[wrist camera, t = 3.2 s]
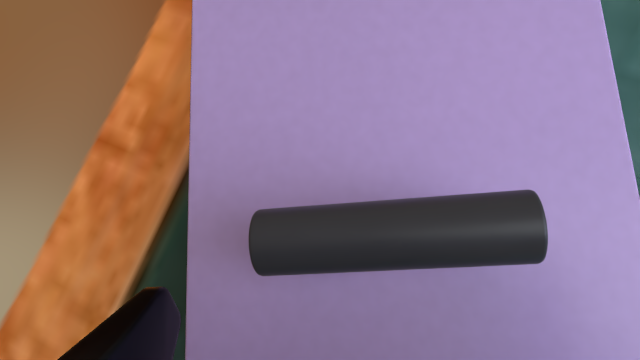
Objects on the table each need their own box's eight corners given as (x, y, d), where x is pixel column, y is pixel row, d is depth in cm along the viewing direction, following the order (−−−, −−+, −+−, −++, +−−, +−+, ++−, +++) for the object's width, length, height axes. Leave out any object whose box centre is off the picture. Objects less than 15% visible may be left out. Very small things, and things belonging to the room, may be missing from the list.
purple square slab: (665, 408, 11) (848, 506, 6) (196, 403, 13) (84, 472, 8) (563, -121, 14) (636, -305, 9) (203, -51, 16) (124, -174, 12)
